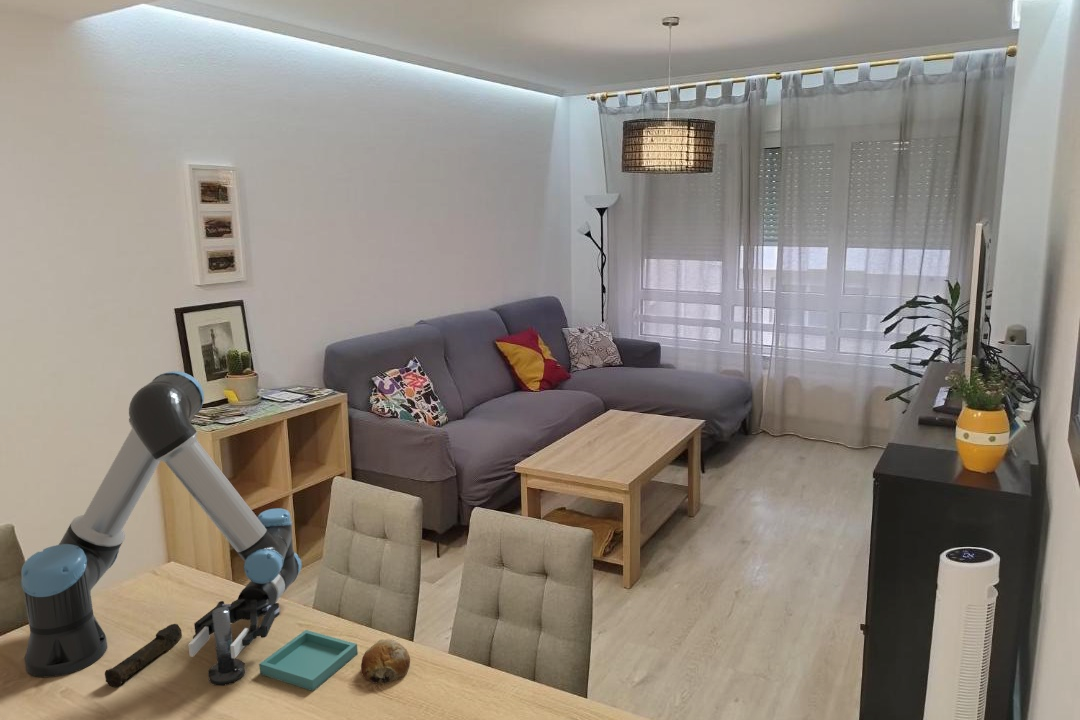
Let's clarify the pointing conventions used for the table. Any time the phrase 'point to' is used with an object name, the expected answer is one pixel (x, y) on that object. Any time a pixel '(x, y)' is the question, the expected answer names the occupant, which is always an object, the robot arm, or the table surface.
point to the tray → (308, 659)
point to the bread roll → (385, 662)
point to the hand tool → (144, 655)
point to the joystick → (224, 651)
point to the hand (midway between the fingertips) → (211, 651)
